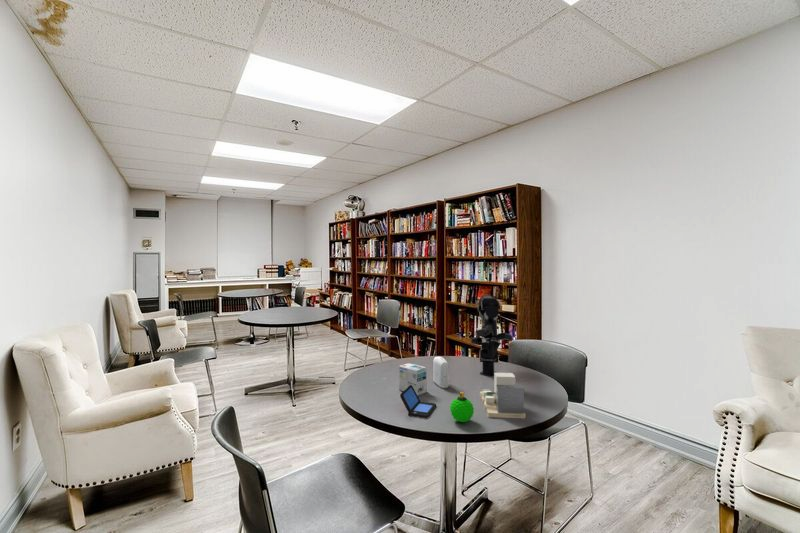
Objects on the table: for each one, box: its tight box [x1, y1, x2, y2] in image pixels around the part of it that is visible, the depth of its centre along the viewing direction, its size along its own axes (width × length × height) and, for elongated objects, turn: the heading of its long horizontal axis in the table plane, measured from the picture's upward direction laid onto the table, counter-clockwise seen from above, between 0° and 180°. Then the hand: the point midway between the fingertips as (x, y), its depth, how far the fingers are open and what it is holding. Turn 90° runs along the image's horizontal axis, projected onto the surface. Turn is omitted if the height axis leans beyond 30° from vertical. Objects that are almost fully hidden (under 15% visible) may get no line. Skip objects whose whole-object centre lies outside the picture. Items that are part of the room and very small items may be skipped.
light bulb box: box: [398, 362, 428, 397], centre depth 154 cm, size 11×7×11 cm, turn 47°
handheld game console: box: [399, 385, 437, 419], centre depth 134 cm, size 12×11×7 cm
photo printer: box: [432, 356, 450, 389], centre depth 162 cm, size 10×4×12 cm, turn 17°
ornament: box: [449, 391, 475, 423], centre depth 124 cm, size 8×8×10 cm
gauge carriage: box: [487, 372, 516, 401], centre depth 137 cm, size 8×10×10 cm
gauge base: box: [479, 389, 527, 419], centre depth 138 cm, size 22×13×4 cm, turn 175°
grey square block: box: [496, 384, 525, 413], centre depth 129 cm, size 3×9×9 cm, turn 85°
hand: (491, 358), depth 158 cm, fingers closed
